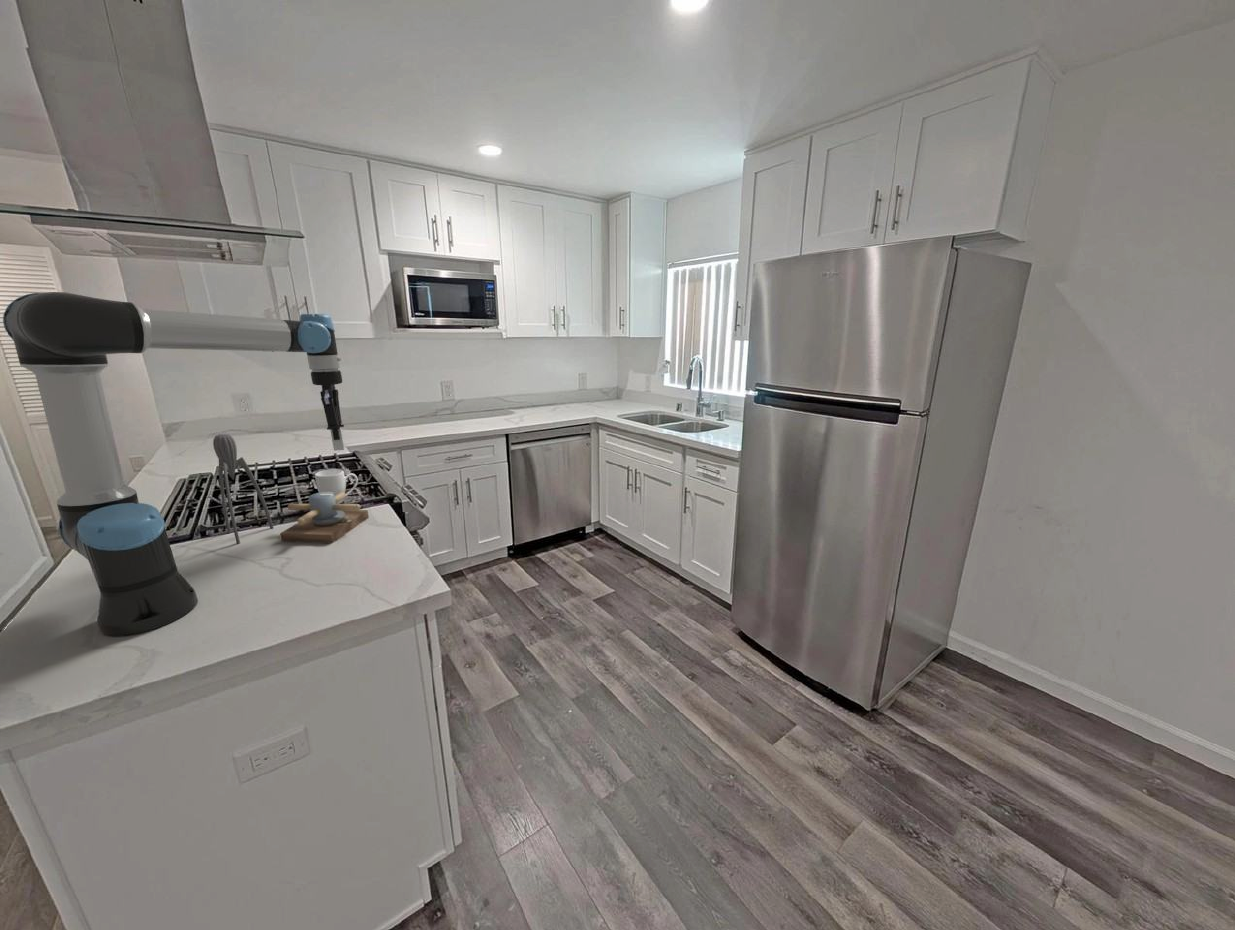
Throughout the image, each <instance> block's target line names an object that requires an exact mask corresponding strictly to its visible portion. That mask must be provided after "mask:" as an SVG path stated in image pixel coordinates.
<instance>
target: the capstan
mask: <svg viewBox="0 0 1235 930" xmlns="http://www.w3.org/2000/svg"><path fill="white" fill-rule="evenodd" d="M345 494H346V492H345V493H343V492H341V493H340V494H338V495H336V496H335V497H334V493H333V492H320V493H319V492H316V493H313V494H311V495H309V496H308V497H307V498H308V502H309V503H289V504H288V505H287V509H288V511H309V512H307V513H305V514H303V515H302V516H300V517H299V518H298V519H297V523H299V524H303V523H305V522H306V521H308V520H310V519H311V518H312V521H313V524H314V525H316V526H327V525H333V524H336V523H339V522H341V521H343V518H344V517H345V512H343V511H339V510H361V505H360V504H358V503H342V504H336V502H338V501H340V500H341V499H343V498H344V499H345V498H346V497H347V496H346V495H345ZM345 496H346V497H345ZM344 499H343V500H344Z"/></svg>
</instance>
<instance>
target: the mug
mask: <svg viewBox="0 0 1235 930" xmlns="http://www.w3.org/2000/svg"><path fill="white" fill-rule="evenodd" d="M350 476H353V477H354V479H355V484H354V485H353V487H351V489H350V490H348V492H347V493H346V489H347V480H348V479H349V477H350ZM314 478H315V479H314V480H315V483H316V489H317V492H318V493H320V492H333V493H334V497H335V496H336V495H338V494H340V493H341V492H343V493H345V495H346V496H345V497H344V498H343V499H341V500H340V501H338V502H336V504H340V503H342V502H344V499H345V498H346V497H347V496H348V495H350V494H351V493H352V492H353V490H355V488H356V487H357V486H358V482H359V479H358V477H357V475H356V474H355V473H354V472H353V473H352V472H351V473H348V474H346V476H345V472H344V470H343V469H339V468H332V469H331V468H330V469H325V470H320V471H318V472H316V473H314ZM342 504H343V503H342Z"/></svg>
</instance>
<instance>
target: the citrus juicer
mask: <svg viewBox="0 0 1235 930" xmlns="http://www.w3.org/2000/svg"><path fill="white" fill-rule="evenodd" d="M212 444H213V450H214V452H215V455H216V457H217V458H218V459H217V460H218V477H219V478H218V480H219V488H220V489H219V490H220V497H221V505H222V510H223V516H224V522H225V526H226V530H227V533H228V534H231V533H232V530H231V525H230V520H229V515H228V509H229V514H230V519H231V523H232V529H233V533H234V538H235V542H236V545H239V544H241V541H240V535H239V532H238V527H237V523H236V518H235V513H234V512H235V511H234V509H233V502H232V497H231V492H230V491H231V490H230V485H229V484H230V483H229V478H228V477H229V476H230V478H231V479H232V480H233V481H234V480H235V474H236V468H238V467H240V466H241V467H242V468H243V470H244V471H245V472H246V474H247V476H248V477H249V479H250V481H251V483H252V485H253V487H254V488H255V491H256V493H257V495H258V498H259V500H260V503H261V505H262V507H263V509H264V513H265V517H266V518H267V522H268V526H269V528H270V529H274V525H273V520H272V517H271V513H270V511H269V509H268V506H267V503H266V500H265V498H264V495H263V493H262V490H261V489H260V487H259V484H258V483H257V480H256V479H255V477H254V475H253V472H252V470H251V469H250V467H249V466H248V464H247V462H246V460H245V459H244V457H243V456H241V457H240V458H238V457H237V456H238V449H237V444H236V441H235V439H234V437H233V436H232V435H231V434H228V433H220V434H217V435H215V436H214V438H213V441H212ZM237 458H238V459H237ZM228 475H229V476H228ZM224 483H225V484H224ZM224 485H225V486H224ZM224 487H225V488H224ZM225 490H226V491H225ZM225 492H226V496H225ZM226 497H227V503H228V509H227V504H226Z"/></svg>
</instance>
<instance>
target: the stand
mask: <svg viewBox="0 0 1235 930" xmlns="http://www.w3.org/2000/svg"><path fill="white" fill-rule="evenodd" d="M339 511H343V512H345V517H344V518H343V521H341V522H339V523H336V524H333V525H327V526H316V525H314V524H313V521H312V518H311V519H310V520H308V521H306V522H305V523H303V524H299V523H298V522H297V523H295V524H293V525H292V526H290V527H288V528H287V529H285V530H283V531H282V532H280V533H279V536H280V540H281V542H285V543H286V542H287V543H288V542H291V543H293V542H294V543H318V544H319V543H323V544H325V543H327V544H333V543H335V542H336V541H338V540H340V539H341V538H342V537H344V535H346V534H347V533H349V532H350V531H352V530H353V529H354V528H356V527H357V526H359V525H360V524H362V523H363V522H364V521H365V522H366V520H367V519H369V511H368V509H359V510H339Z"/></svg>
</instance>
